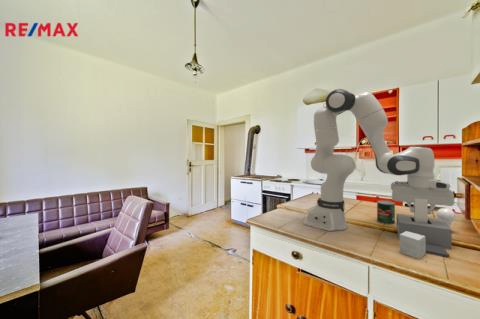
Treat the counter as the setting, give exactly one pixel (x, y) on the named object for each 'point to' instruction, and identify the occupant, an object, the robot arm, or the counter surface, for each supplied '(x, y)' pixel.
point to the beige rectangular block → (421, 210)
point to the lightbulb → (446, 215)
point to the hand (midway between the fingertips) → (420, 212)
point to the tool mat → (436, 250)
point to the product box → (412, 244)
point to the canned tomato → (386, 212)
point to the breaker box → (426, 230)
